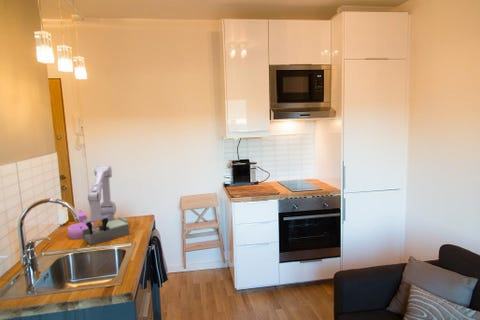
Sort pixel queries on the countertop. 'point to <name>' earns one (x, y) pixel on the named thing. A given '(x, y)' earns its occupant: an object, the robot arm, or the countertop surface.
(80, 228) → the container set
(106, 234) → the housing
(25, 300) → the countertop surface
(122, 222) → the lid
